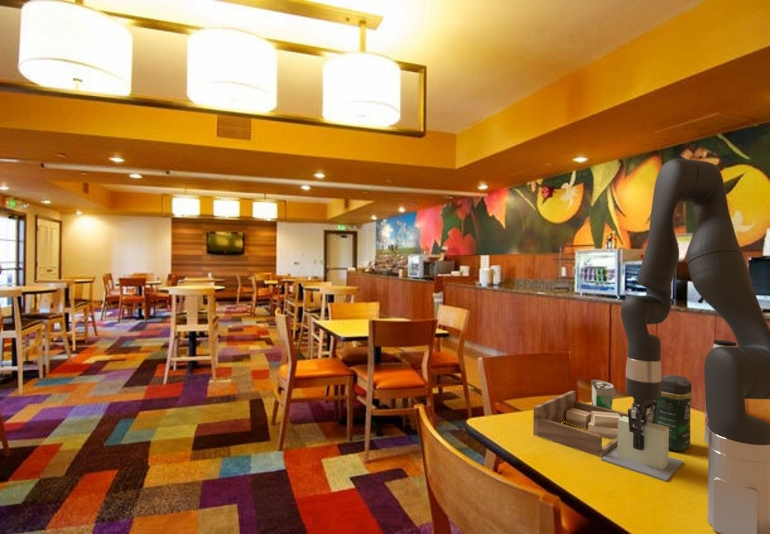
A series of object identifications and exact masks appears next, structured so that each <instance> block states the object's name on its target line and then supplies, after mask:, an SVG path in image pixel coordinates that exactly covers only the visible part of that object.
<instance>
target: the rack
mask: <svg viewBox="0 0 770 534" xmlns="http://www.w3.org/2000/svg"><path fill="white" fill-rule="evenodd" d="M576 395H577V394H576V391H575V390H570V391H567V392H566V393H565V392H564V393H563V394H560V395H558V396H556V397H554V398H551V399H548V400H546V401H544V402H542V403H539V404H537V405H534V406H533V418H532V419H533V420H532V421H533V423H532V424H533V426H532V427H533V429H532V433H533V434H534V435H533V434H532V435H533V436H535V435H537V436H536V437H538V436H539V438H541V437H543V438H542V439H544V438H546V439H545V440H547V439H549V440H548V441H550V440H552V441H551V442H554V441H555V442H554V443H557V442H558V443H557V444H559V445H563V446H566V447H569V448H573V449H576V450H578V451H582V452H585V453H587V454H588V453H589V454H591V455H594V456H598V457H600V458H602V457H604V456H605V455H606V454H608V453H609V452H610V451H612V450H613V449H614V448H616V447H617V440H618V437H616V438H615V439H611V441H609V442H608V443H606V444H605V445H603V443H602V442H603V439H602V438H603V437H602V435H599V434H595V433H592V432H588V430H586V429H582V428H579V427H575V426H572V425H569V424H568V425H567V424H564V423H565V422H564V421H566V410H569V409H571V408H575V409H578V410H582V411H586V412H589V413H591V411H597V412H608V413H618V414H619V415H620V416H621V417H623V416H625V417H628V412H623V411H618V410H616V409H615V410H614V409H612V410H611V409H607V408H603V407H599V406H595V405H592V404H590V403H586V402H581V401H579V400H578V401H577V400H576ZM562 422H564V423H562ZM561 423H562V424H561Z"/></svg>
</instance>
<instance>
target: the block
mask: <svg viewBox="0 0 770 534" xmlns="http://www.w3.org/2000/svg"><path fill="white" fill-rule="evenodd" d="M641 421H642V420H641ZM642 422H643V421H642ZM636 428H637V429H638V426H637V425H636ZM668 444H669V427H666V426H662V425H658V424H654V423H650V422H648V425H647V426H646V427H645V434H644V450H642V451H641V450H637V449H634V448H633V433H632V432H630V431H629V421H628V417H625V416H623V417H621V418H620V419H618V440H617V456H621V457H624V458H627V459H630V460H633V461H637V462H640V463H643V464H646V465H649V466H653V467H656V468H659V469H662V470H663V469H664V468H665V467H666V466H667V465H668V457H669V450H668Z"/></svg>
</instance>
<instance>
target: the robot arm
mask: <svg viewBox="0 0 770 534" xmlns="http://www.w3.org/2000/svg"><path fill="white" fill-rule="evenodd" d="M652 195H653V196H652V201H651V203H652V205H651V211H650V221H649V228H648V235H647V243H646V247H645V251H644V255H643V257H642V260H641V261H642V262H641V264H640V268H639V271H638V275H637V283H638V284H639V286H641V287H643V288H646V294H645V295H630V296H628V297H625V299H624V300H623V302H622V304H621V306H620V317H621V322H622V325H623V328H624V333H625V336H626V339H627V359H626V364H625V393H626V395H628V396H629V397H631V398H632V399H633V401H632V403H631V408H628V410H627V413H628V421H629V431H630V432H632V433H633V448H634V449H637V450H641V451H642V450H644V434H645V427H646V426H647V425H648V422H650V423H654V424H655V423H656V422H655V420H656V409H657V401H655V400H659V399H660V398H661V385H662V377H663V376H662V372H663V371H662V362H661V359H662V357H661V356H662V344H661V343H662V342H661V339H660V337H658V336H656V335H655V334H652V333H651V334H650V332H649V329H648V325H659V324H662V323H663V322H664V321H666V319H667V318H668V317H669V315H670V312H671V307H672V282H673V279H674V276H675V273H676V270H677V267H678V264H679V259H680V247H679V243H678V239H677V235H676V233H675V232H676V231H675V226H674V216H675V215H674V214H675V211H676V208H677V204H678V202H679V203H680V202H681V203H689V204H690V205H691V206H692V208H693V211H694V213H695V219H696V230H695V231H694V234H693V236H692V238H691V240H690V243H689V244H688V248H687V250H686V259H685V260H686V265H687V269H688V272H689V275H690V279H691V282H692V285H693V288H694V289H695V290H696V292H697V293H698V294H699V296H700V297H701V298H702V299H703V300H704V301H705V302H706V303H707V304H708V305H709V306H710V307H711V309H713V310H714V311H715V312H716V313H717V314H718V315H719V316H720V317H722V319H723V320H724V321H725V322H726V324H727V325H728V326H729V327H730V329H731V331H732V333H733V336H734V337H735V338H734V339H735V340H736V344H737V345H738V346H735V347H716V348H713V347H712V348H711V349H710V350H709V351H708V353H707V355H706V357H705V360H704V366H703V367H704V368H703V371H704V372H703V374H704V375H703V377H704V379H703V380H704V393H705V394H704V395H705V396H704V397H705V398H704V399H705V401H704V403H705V404H706V412H707V416H708V419H709V444H708V450H707V451H708V461H707V462H708V465H707V467H708V468H707V469H708V470H707V522H708V524H709V525H711V528H712V531H713V532H716V533H719V534H770V422H769V421H767V420H765V419H763V418H760V417H757V416H754V415H752V414H749V413H748V412H747V409H746V401H745V399H747V400H770V327H769V324H768V322H767V319H766V318H765V316H764V313H763V310H762V308H761V305H760V303H759V300H758V297H757V295H756V292H755V288H754V286H753V284H752V279H751V276H750V272H749V268H748V266H747V263H746V260H745V257H744V254H743V251H742V249H741V246H740V243H739V241H738V240H739V239H738V238H737V235H736V230H735V228H734V224H733V221H732V218H731V214H730V209H729V204H728V200H727V193H726V188H725V183H724V179H723V175H722V172H721V170H720V168H719V167H718V166H717V165H716V164H715V163H712V162H710V161H705V160H698V159H697V160H696V159H685V158H673V159H669V160H668V161H666V162H665V163H664V164H663V165H662V166H661V167H660V168H659V170H658V174H657V175H656V179H655V183H654V188H653V194H652ZM705 404H704V405H705ZM641 420H642V421H643V422H642V421H641ZM636 425H637V426H638V429H637V428H636Z"/></svg>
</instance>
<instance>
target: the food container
mask: <svg viewBox="0 0 770 534" xmlns="http://www.w3.org/2000/svg"><path fill="white" fill-rule="evenodd" d="M614 395H616V389H615V387H614V384H612V383H610V382H607V381H603V380H599V379H598V380H597V379H591V405H595V406H599V407H603V408H607V409H611V410H613V409H612V408H613V399H614Z"/></svg>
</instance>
